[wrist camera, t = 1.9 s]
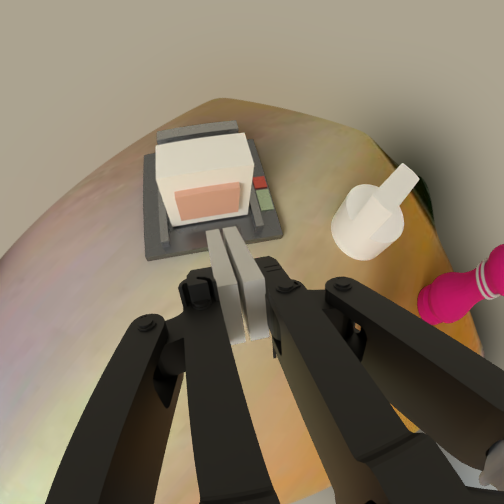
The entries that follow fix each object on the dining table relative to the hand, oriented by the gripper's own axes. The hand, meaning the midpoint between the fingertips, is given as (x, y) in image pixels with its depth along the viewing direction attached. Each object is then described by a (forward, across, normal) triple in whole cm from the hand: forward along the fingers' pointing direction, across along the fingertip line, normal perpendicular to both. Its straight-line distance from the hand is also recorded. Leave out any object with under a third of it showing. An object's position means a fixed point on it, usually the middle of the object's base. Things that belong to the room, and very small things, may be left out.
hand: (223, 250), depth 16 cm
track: (+25, 0, -1) cm, 25 cm away
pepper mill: (+8, +30, -18) cm, 36 cm away
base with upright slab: (+18, +21, -8) cm, 29 cm away
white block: (+21, 0, -2) cm, 21 cm away
